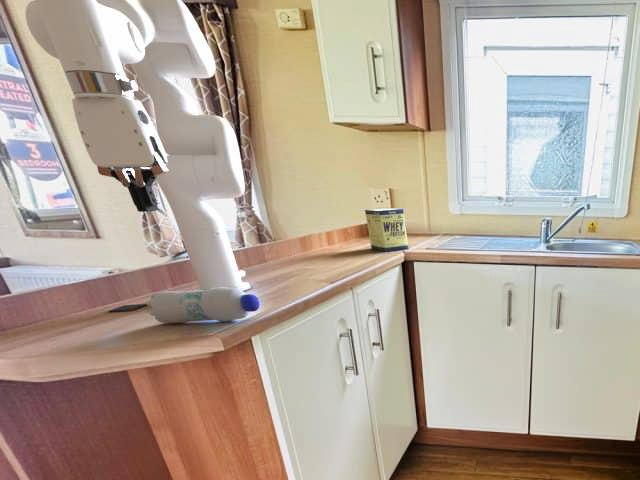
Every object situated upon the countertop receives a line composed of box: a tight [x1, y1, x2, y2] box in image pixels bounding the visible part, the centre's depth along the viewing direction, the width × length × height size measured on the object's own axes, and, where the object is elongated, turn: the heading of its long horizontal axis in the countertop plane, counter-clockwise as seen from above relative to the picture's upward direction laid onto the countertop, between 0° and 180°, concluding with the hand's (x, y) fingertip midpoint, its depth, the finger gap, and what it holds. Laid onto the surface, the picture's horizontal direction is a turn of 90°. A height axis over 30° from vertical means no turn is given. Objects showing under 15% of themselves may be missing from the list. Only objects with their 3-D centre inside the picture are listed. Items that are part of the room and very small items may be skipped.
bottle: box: [146, 287, 260, 324], centre depth 83 cm, size 7×7×20 cm
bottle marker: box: [108, 303, 148, 313], centre depth 97 cm, size 5×5×1 cm
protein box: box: [364, 208, 409, 252], centre depth 175 cm, size 10×16×16 cm
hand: (148, 210), depth 77 cm, fingers closed
